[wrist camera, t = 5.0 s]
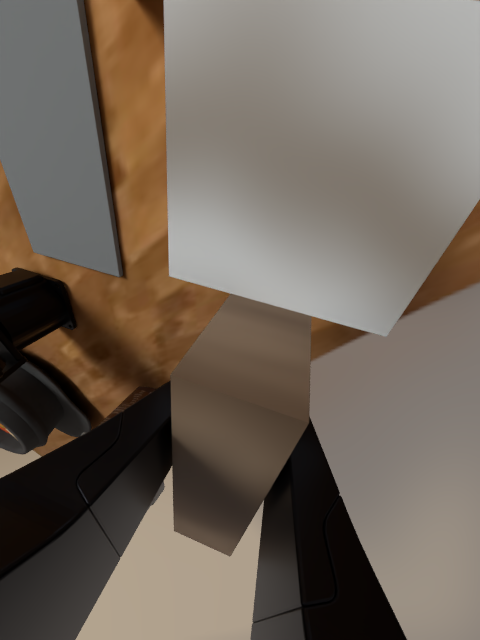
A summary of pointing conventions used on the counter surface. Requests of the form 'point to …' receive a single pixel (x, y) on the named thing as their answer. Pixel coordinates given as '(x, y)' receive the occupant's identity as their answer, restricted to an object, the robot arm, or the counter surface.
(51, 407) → the casserole
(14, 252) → the counter surface
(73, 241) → the rest mat
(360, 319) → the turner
